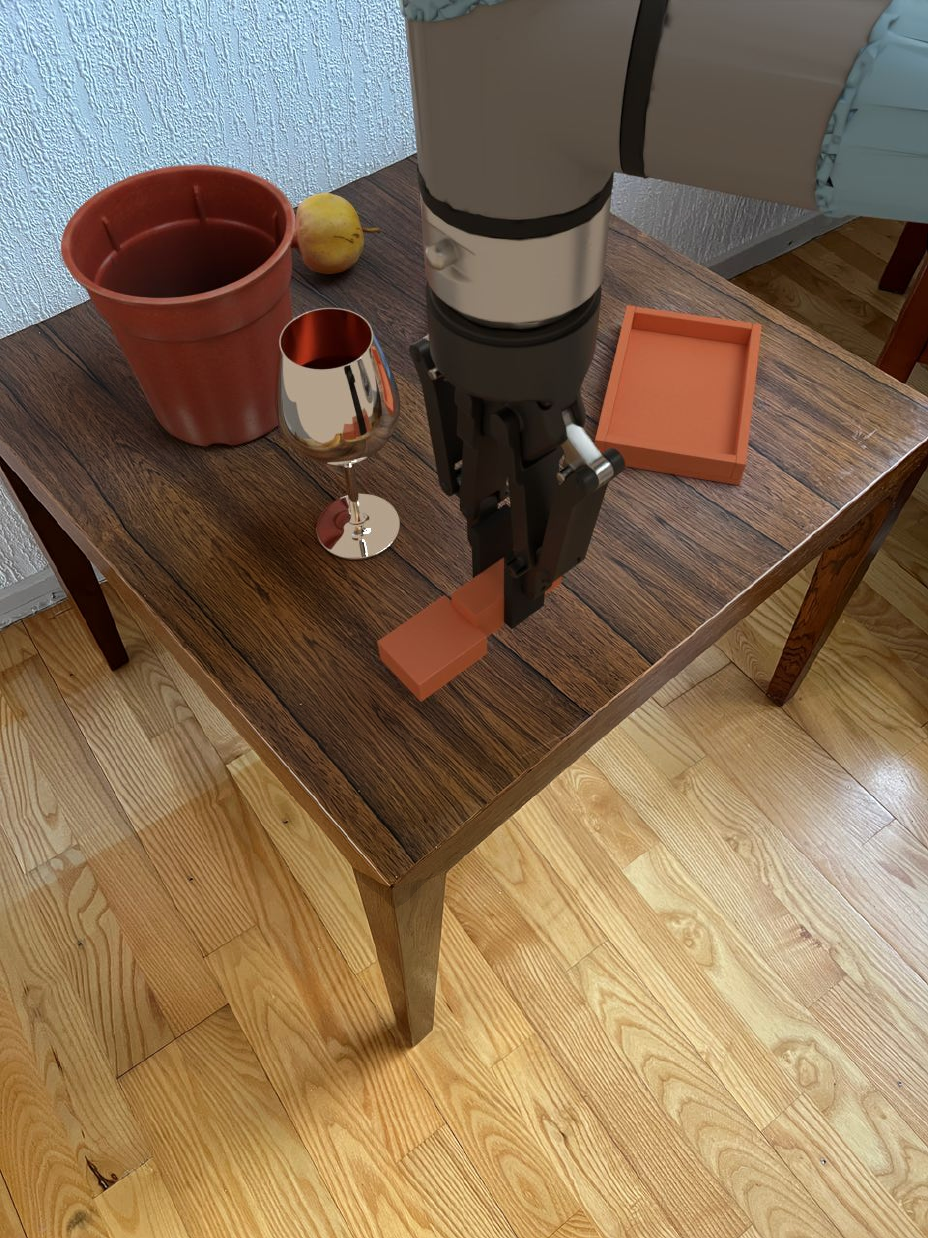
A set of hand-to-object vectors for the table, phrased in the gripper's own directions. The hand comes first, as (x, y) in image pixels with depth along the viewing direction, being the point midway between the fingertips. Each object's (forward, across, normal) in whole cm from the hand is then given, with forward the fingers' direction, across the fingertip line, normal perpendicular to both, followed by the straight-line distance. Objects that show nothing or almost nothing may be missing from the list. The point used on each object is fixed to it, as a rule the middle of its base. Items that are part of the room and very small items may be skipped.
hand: (508, 598), depth 60 cm
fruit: (+7, -44, +17) cm, 47 cm away
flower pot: (+7, -35, 0) cm, 36 cm away
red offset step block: (0, 0, -3) cm, 3 cm away
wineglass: (+8, -16, -1) cm, 18 cm away
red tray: (+8, -10, +28) cm, 30 cm away
